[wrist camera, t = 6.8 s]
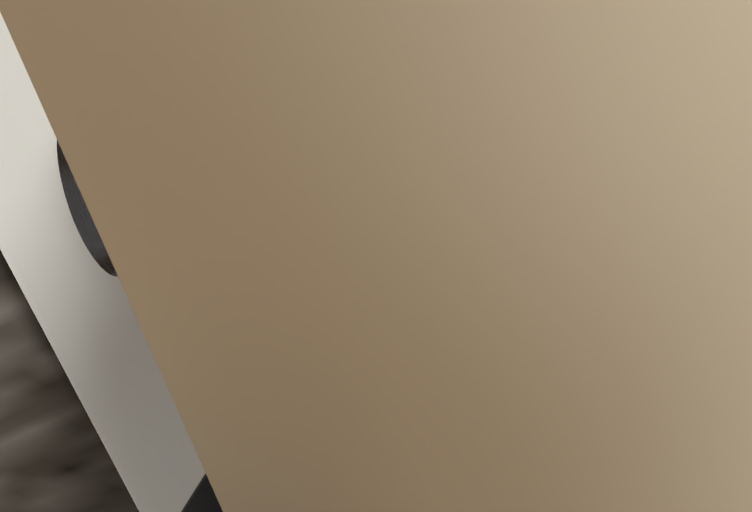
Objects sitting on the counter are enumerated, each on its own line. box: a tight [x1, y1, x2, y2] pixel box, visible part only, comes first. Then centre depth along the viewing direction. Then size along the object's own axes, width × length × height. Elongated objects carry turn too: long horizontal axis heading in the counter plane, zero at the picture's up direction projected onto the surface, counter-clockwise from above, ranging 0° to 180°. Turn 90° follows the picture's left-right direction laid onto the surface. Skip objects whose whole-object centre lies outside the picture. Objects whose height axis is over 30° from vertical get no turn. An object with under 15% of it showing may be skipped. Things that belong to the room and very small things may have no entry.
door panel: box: [0, 0, 752, 512], centre depth 9 cm, size 4×12×8 cm, turn 11°
